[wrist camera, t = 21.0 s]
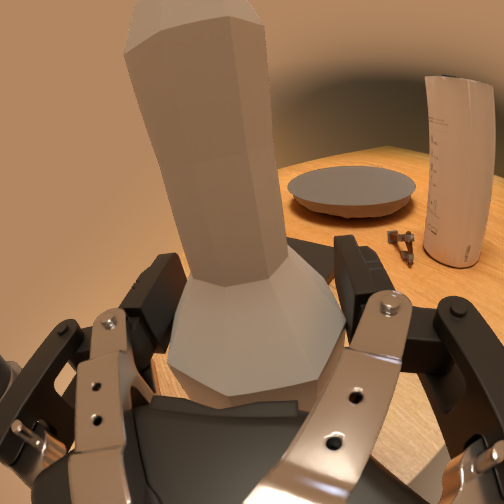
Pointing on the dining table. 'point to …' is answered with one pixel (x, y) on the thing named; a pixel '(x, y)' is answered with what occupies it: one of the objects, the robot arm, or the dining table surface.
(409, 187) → the flat disc
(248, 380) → the low poly bottle
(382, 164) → the dining table surface
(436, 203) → the speaker
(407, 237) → the jointed metal bracket
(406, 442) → the dining table surface
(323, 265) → the scale
